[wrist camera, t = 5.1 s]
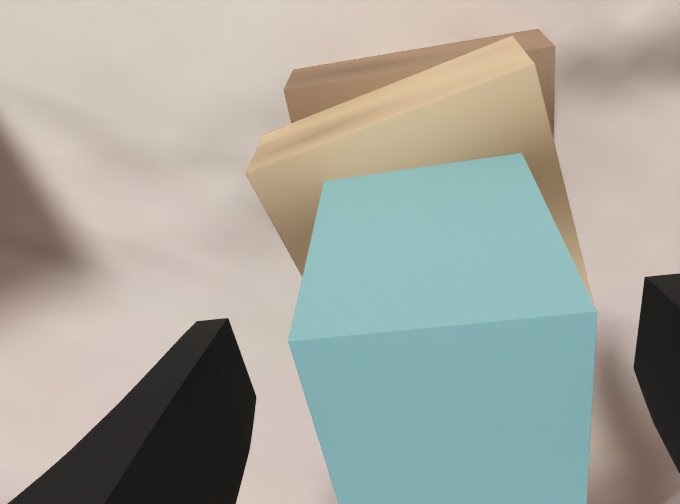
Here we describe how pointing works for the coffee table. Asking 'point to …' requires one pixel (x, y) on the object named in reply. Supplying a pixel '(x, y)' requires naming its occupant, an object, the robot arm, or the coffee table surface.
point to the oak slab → (415, 139)
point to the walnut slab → (403, 73)
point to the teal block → (446, 339)
